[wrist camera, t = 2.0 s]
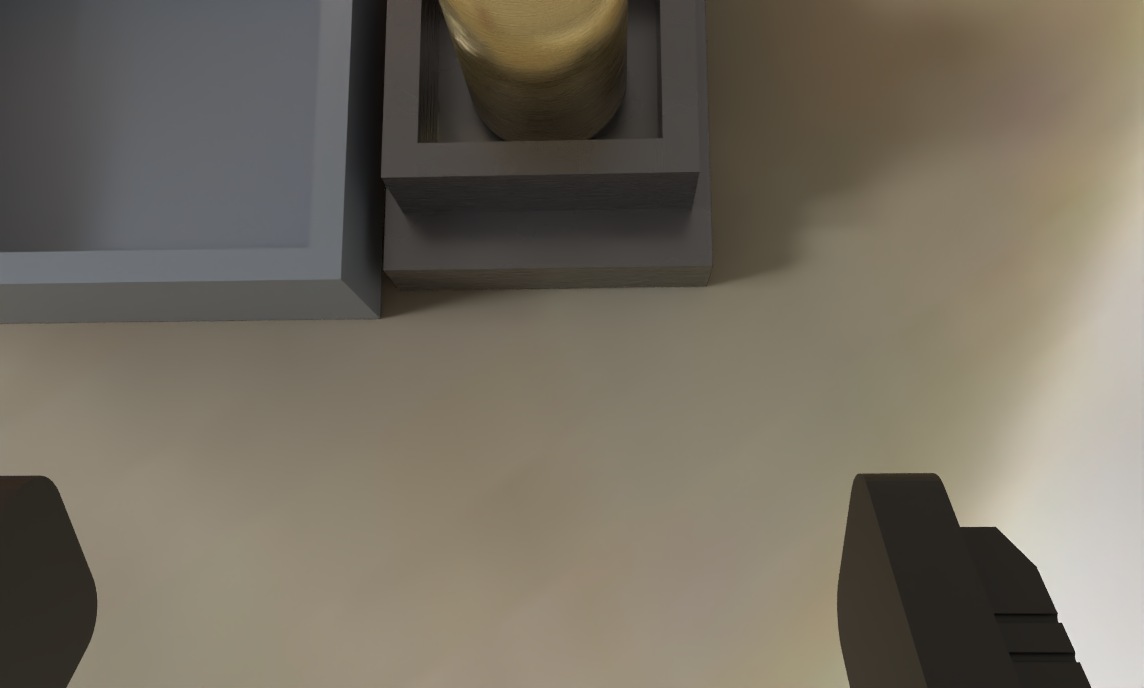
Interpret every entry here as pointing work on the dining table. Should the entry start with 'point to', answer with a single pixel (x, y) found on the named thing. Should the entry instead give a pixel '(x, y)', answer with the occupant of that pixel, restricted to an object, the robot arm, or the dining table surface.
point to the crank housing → (547, 169)
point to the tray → (191, 160)
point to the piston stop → (542, 64)
